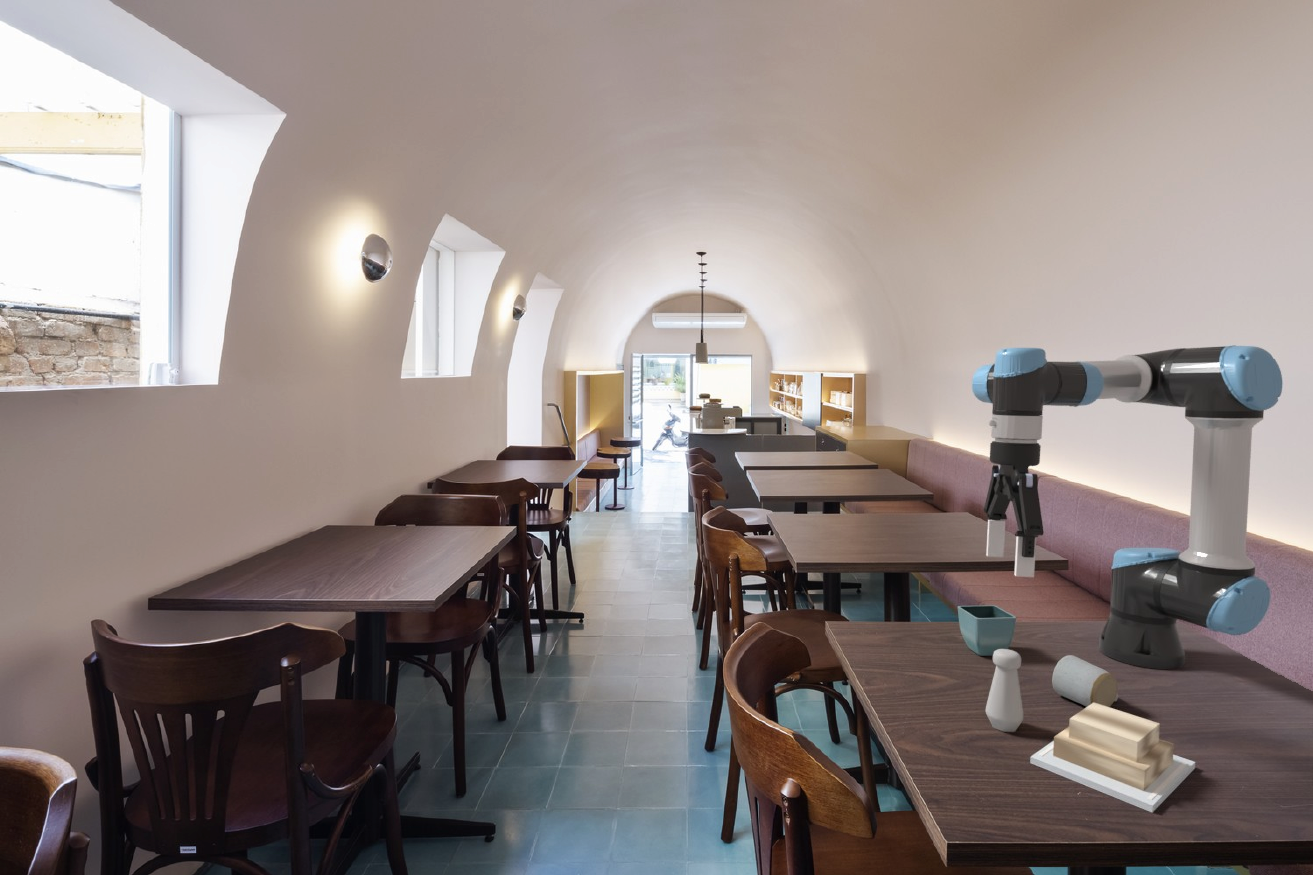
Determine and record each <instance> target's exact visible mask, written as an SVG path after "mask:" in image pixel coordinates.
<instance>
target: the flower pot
mask: <svg viewBox="0 0 1313 875" xmlns="http://www.w3.org/2000/svg"><path fill="white" fill-rule="evenodd" d="M957 613H958V616H957V617H958V625H959V629H960V633H961V636H962V638H963V641H964V642H965V644H966V646H967V647H968V648H969V649H970V650H972V652H974V653H975V654H977V655H978V656H980V657H983V656H993V654H994V651H996V650H998V649H1009V648H1010V645H1011V643H1012V641H1013V638H1014V633H1015V627H1016V622H1017V617H1016V616H1015V615H1014V614H1012V613H1010V612H1008V611H1006V610H1004V609H1003V608H1001V607H1000V606H998V605H994V604H993V605H992V604H991V605H984V604H983V605H958V606H957Z"/></svg>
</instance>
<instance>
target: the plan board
mask: <svg viewBox="0 0 1313 875" xmlns="http://www.w3.org/2000/svg"><path fill="white" fill-rule="evenodd" d="M1053 746H1054V740H1052V741H1051V742H1049V743H1048V744H1047V745H1045V746H1044V747H1042V748H1041V749H1039V750H1038V751H1037V752H1035V753H1033V754H1032V755H1031V756H1029V757H1030V760H1029V761H1030V762H1029V763H1030V764H1032V765H1034V766H1037V767H1038V768H1039V767H1040V768H1041V769H1044V770H1046V771H1049V772H1051V773H1053V774H1056V775H1059V776H1061V777H1063V778H1066V779H1067V780H1070V781H1073V782H1075V783H1078V784H1081V785H1084V786H1086V787H1088V788H1091V789H1093V790H1096V791H1098V792H1101V793H1103V794H1105V795H1108V796H1110V797H1113V798H1115V799H1118V800H1120V801H1122V802H1125V803H1127V804H1130V805H1132V806H1135V807H1137V808H1140V809H1142V810H1145V811H1147V812H1149V813H1154V812H1155V811H1156V810H1157V808H1159V807H1160V805H1161V804H1162V803H1164V801H1165V800H1166V799H1168V797H1169V796H1170V795H1171V794H1172V793H1173V792H1174V791H1175V790H1176V789H1177V788H1178V787H1179V785H1181V783H1183V781H1184V780H1185V779H1186V778H1187V777H1188V776H1189V775H1190V774H1191V773H1192V772H1193V771H1195V769H1196V761H1193V760H1190V759H1188V758H1184V757H1181V756H1179V755H1175V754H1173V763H1172V764H1171V765H1170V766H1169V767H1168V768H1167V769H1166V770H1165V771H1164V772H1163V773H1162V774H1161V775H1160V776H1159V777H1158V778H1157V779H1156V780H1155V781H1154V782H1153V783H1152V784H1151V785H1149V786H1148V787H1147V788H1146V789H1145V790H1144V791H1142V790H1139V789H1137V788H1134V787H1132V786H1129V785H1127V784H1124V783H1121V782H1119V781H1116V780H1114V779H1111V778H1109V777H1106V776H1104V775H1101V774H1098V773H1096V772H1093V771H1091V770H1088V769H1086V768H1083V767H1080V766H1078V765H1075V764H1073V763H1070V762H1068V761H1065V760H1063V759H1060V758H1057V757H1055V756H1053Z"/></svg>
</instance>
